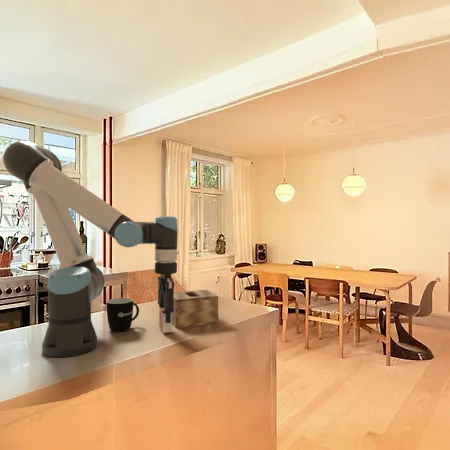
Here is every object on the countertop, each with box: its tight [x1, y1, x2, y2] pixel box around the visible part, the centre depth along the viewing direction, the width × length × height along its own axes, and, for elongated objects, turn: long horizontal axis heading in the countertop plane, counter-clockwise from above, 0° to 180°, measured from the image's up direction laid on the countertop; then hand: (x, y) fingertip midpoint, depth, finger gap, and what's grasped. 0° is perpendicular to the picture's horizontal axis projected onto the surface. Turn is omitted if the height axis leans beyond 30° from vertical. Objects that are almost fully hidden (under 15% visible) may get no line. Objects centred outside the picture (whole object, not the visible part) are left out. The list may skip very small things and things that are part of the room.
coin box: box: [169, 289, 219, 329], centre depth 135 cm, size 16×13×10 cm
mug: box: [105, 297, 140, 333], centre depth 126 cm, size 12×9×10 cm
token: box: [159, 311, 171, 334], centre depth 122 cm, size 2×6×6 cm, turn 22°
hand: (165, 328), depth 122 cm, fingers closed on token, 6 cm apart
